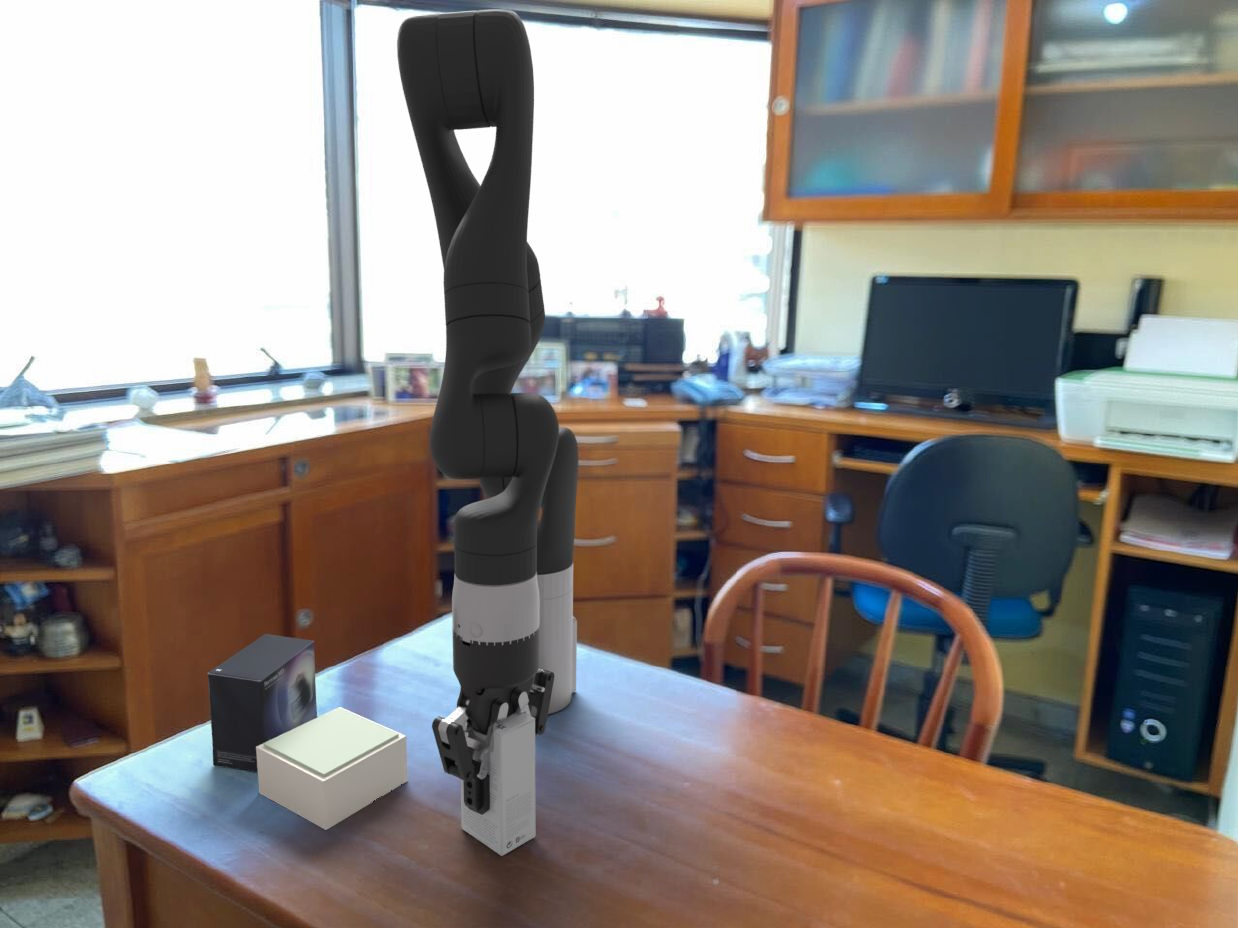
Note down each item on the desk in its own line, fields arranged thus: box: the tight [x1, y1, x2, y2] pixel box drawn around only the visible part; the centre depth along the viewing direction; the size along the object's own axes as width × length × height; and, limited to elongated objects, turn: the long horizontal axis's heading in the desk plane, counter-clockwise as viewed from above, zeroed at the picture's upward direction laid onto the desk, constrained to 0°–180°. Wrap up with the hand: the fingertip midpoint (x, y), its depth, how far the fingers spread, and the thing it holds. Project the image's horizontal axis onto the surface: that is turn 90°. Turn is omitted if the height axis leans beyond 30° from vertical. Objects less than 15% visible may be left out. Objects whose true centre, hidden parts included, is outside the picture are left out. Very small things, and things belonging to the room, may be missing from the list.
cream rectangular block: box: [256, 706, 408, 831], centre depth 90 cm, size 10×10×5 cm
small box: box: [207, 633, 318, 773], centre depth 97 cm, size 11×6×10 cm, turn 168°
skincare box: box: [460, 713, 537, 857], centre depth 83 cm, size 6×4×12 cm
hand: (497, 795), depth 84 cm, fingers closed on skincare box, 4 cm apart
